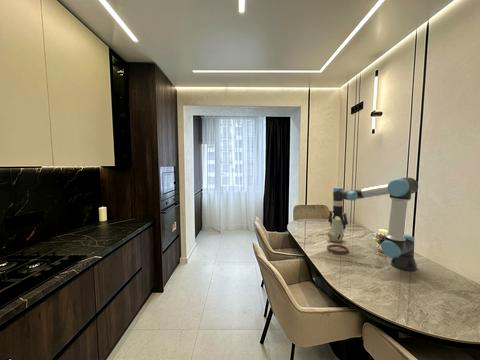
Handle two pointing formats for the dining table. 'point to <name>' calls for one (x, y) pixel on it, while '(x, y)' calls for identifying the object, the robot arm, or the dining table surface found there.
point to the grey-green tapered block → (337, 226)
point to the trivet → (337, 249)
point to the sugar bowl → (335, 236)
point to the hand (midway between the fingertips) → (337, 231)
